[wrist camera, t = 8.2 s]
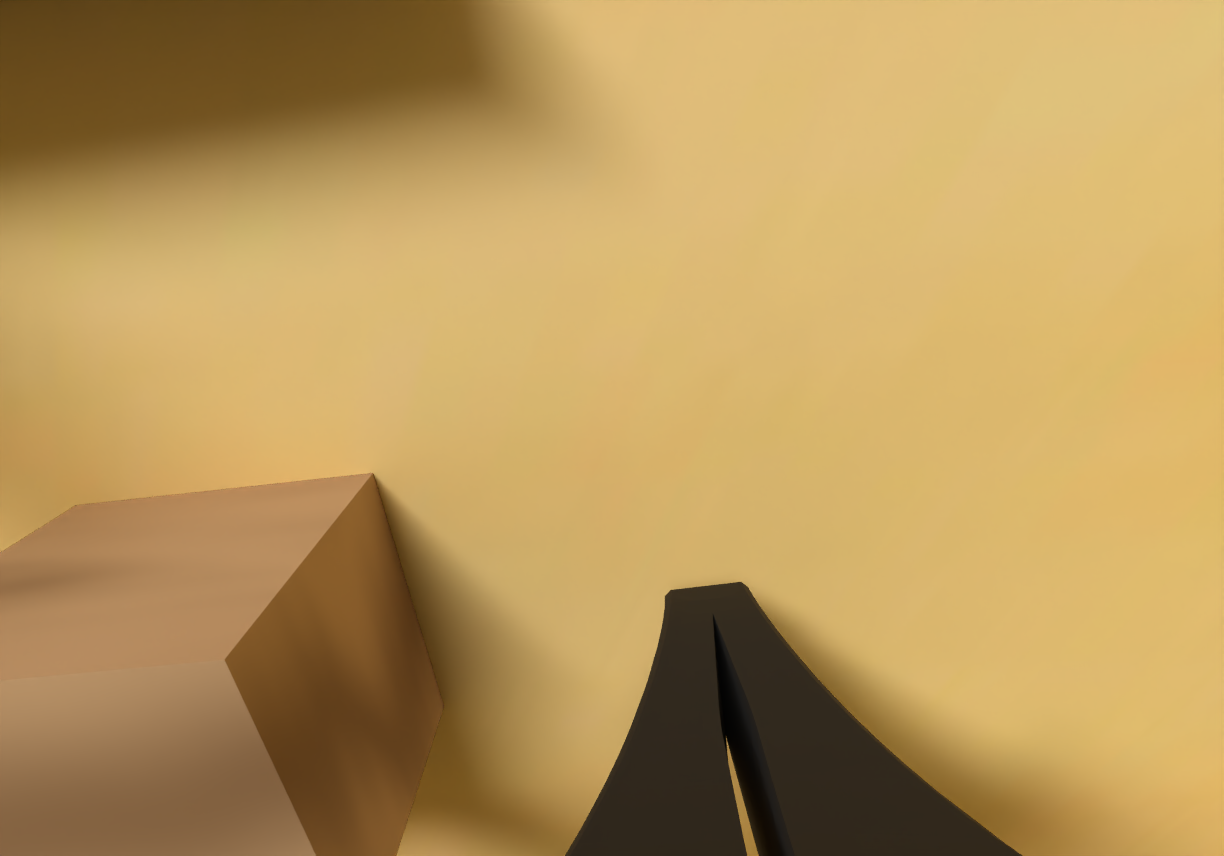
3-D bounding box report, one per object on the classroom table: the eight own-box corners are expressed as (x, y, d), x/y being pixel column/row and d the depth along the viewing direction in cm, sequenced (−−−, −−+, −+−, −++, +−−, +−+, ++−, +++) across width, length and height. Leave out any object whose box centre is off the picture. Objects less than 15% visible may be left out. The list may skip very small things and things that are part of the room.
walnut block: (445, 701, 14) (363, 956, 10) (195, 724, 15) (1, 980, 10) (375, 470, 12) (224, 659, 7) (81, 502, 12) (-242, 703, 8)
